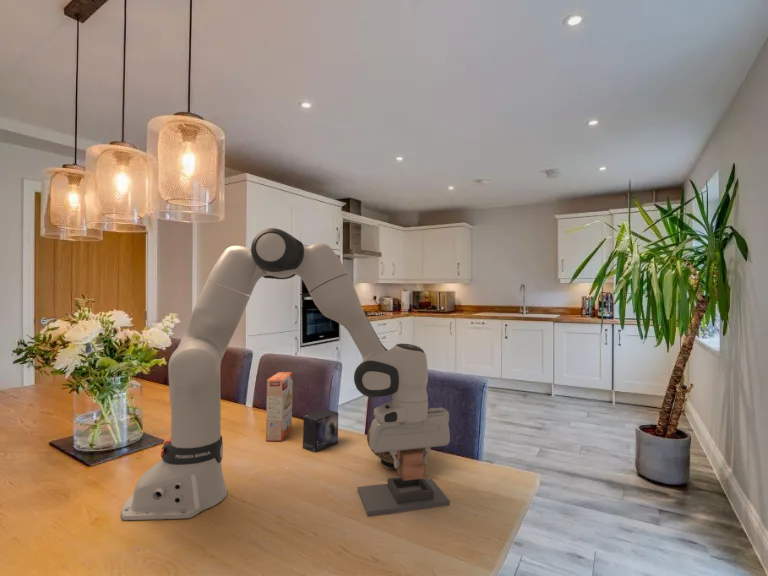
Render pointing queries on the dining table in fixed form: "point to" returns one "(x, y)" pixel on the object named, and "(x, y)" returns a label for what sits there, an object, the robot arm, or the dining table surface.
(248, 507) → the dining table surface
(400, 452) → the terracotta block
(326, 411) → the small box
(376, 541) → the dining table surface
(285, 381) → the cracker box
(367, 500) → the base board
